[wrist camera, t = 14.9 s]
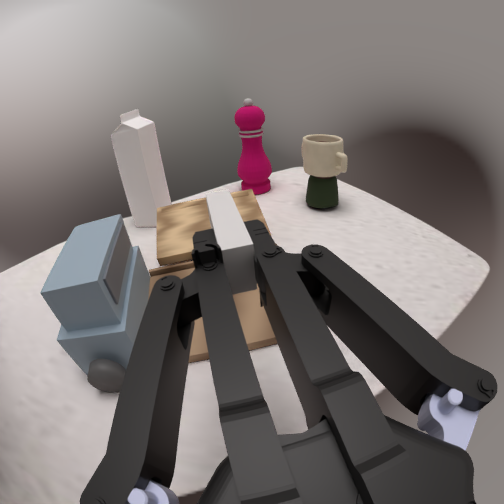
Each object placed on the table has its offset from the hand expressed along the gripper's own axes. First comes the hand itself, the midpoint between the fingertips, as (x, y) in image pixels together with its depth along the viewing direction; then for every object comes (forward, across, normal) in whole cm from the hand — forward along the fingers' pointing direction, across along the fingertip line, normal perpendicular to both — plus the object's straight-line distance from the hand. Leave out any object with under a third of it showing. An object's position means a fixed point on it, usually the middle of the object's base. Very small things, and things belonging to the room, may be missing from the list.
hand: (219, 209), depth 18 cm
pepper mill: (+39, +11, -16) cm, 43 cm away
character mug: (+27, +21, -16) cm, 38 cm away
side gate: (+15, 0, -14) cm, 20 cm away
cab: (+7, -14, -16) cm, 22 cm away
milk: (+34, -11, -16) cm, 39 cm away
